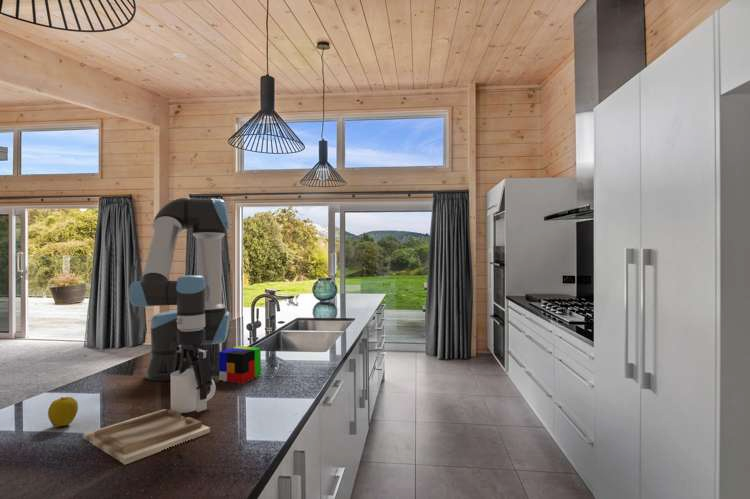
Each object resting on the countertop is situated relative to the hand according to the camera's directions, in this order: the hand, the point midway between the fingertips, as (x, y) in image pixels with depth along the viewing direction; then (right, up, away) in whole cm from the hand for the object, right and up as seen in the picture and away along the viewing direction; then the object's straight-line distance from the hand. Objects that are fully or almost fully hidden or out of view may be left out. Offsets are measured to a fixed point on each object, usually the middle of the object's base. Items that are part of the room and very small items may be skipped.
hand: (191, 406), depth 126 cm
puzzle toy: (+5, 0, +29) cm, 29 cm away
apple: (-28, -1, -12) cm, 31 cm away
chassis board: (-3, 0, -19) cm, 19 cm away
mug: (+1, 0, 0) cm, 1 cm away
